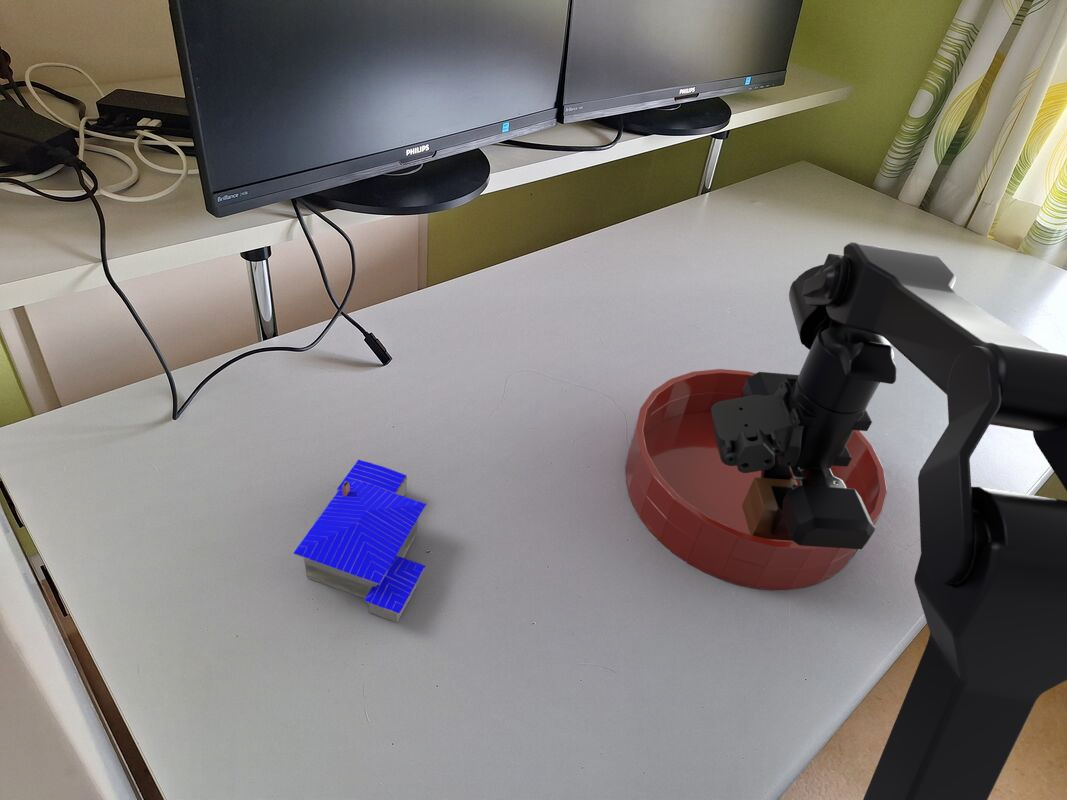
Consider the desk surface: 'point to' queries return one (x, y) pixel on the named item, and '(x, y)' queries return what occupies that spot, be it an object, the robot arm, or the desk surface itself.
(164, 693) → the desk surface
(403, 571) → the house
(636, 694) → the desk surface
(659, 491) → the red round bowl
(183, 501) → the desk surface
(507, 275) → the desk surface
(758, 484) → the block
